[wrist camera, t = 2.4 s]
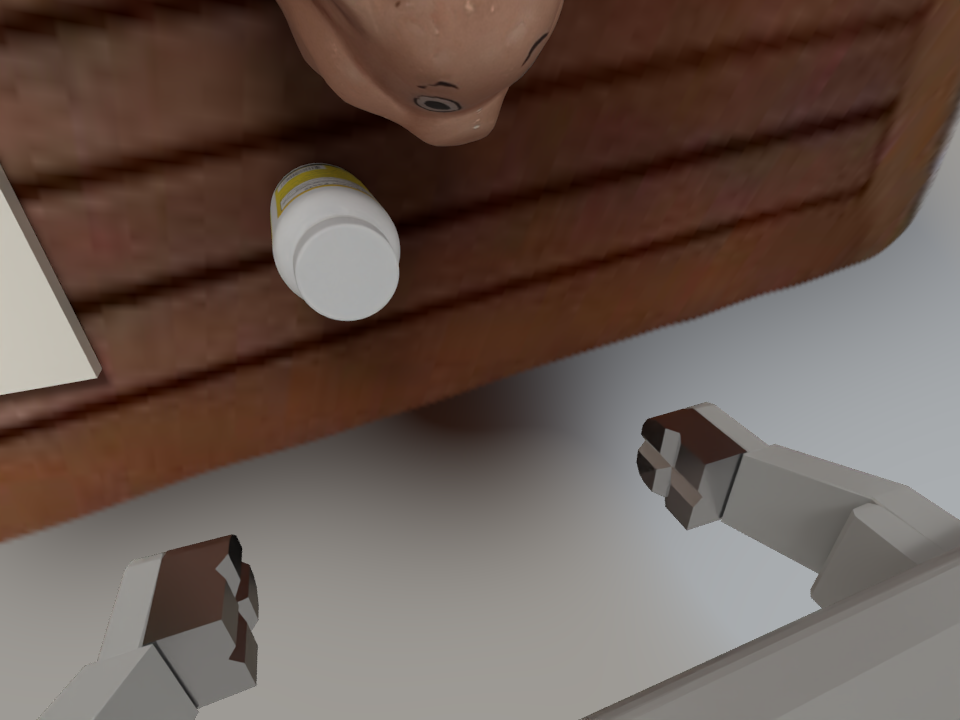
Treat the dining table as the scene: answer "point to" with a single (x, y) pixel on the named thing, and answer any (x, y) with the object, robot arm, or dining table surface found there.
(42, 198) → the dining table surface
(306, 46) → the decorative planter
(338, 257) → the supplement bottle
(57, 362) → the tile
